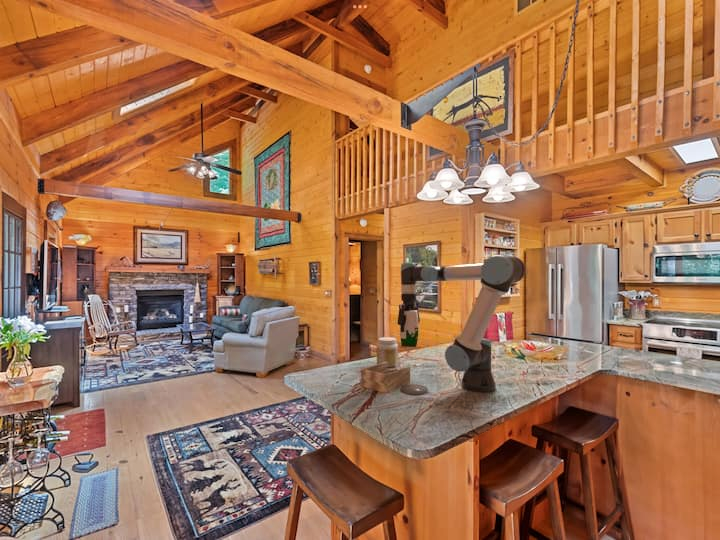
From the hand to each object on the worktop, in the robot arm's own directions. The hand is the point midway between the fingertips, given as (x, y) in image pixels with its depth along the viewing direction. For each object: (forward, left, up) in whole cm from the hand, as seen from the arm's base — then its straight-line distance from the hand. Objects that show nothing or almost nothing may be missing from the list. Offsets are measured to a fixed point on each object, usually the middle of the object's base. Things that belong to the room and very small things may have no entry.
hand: (409, 337), depth 178 cm
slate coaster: (-12, +14, -21) cm, 28 cm away
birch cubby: (+3, +15, -21) cm, 26 cm away
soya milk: (0, 0, -5) cm, 5 cm away
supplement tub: (+20, -8, -21) cm, 31 cm away
